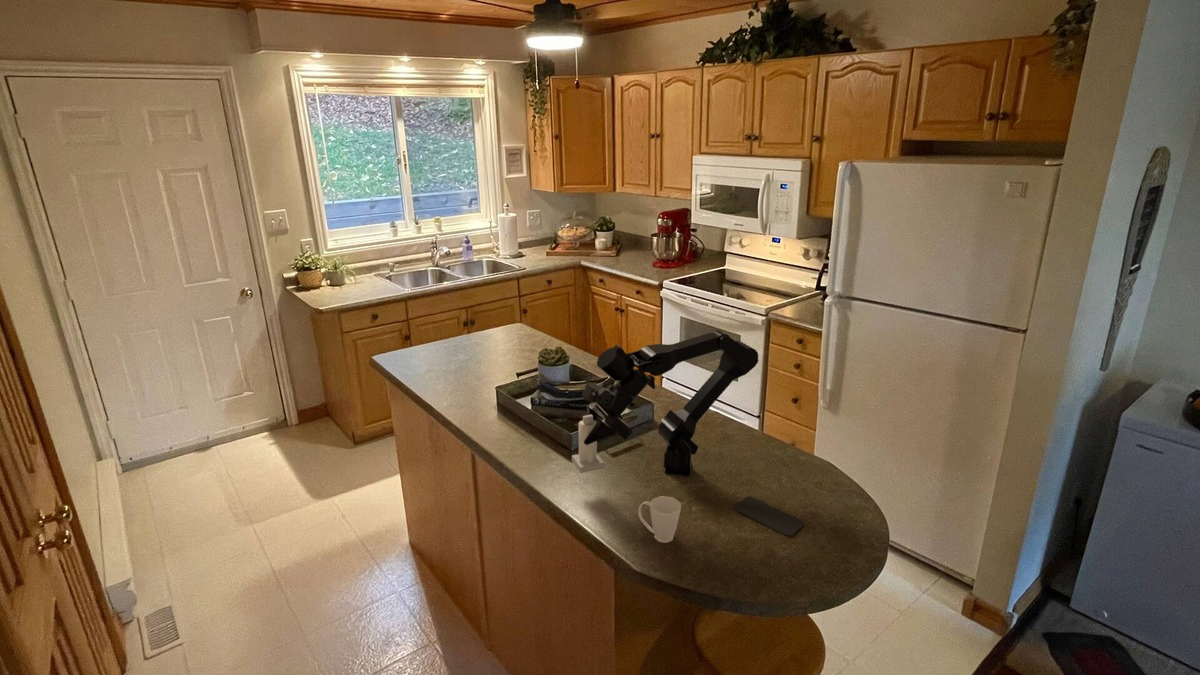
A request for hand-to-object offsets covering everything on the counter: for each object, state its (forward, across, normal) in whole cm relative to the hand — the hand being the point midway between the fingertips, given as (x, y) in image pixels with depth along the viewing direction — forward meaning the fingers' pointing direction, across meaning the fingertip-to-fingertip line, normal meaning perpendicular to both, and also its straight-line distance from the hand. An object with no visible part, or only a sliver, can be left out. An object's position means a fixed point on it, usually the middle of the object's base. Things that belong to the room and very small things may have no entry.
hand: (582, 440), depth 149 cm
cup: (+3, +22, +16) cm, 28 cm away
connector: (+4, 0, +6) cm, 7 cm away
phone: (-15, +26, +35) cm, 46 cm away
